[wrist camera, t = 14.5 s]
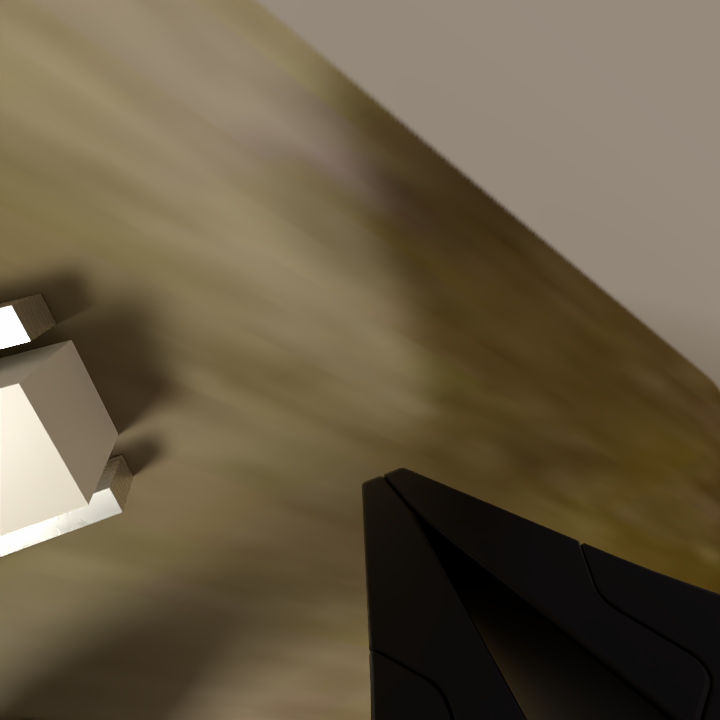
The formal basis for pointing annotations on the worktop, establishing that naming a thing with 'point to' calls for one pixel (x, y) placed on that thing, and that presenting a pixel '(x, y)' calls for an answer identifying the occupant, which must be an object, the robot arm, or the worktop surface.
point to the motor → (26, 323)
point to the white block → (49, 435)
